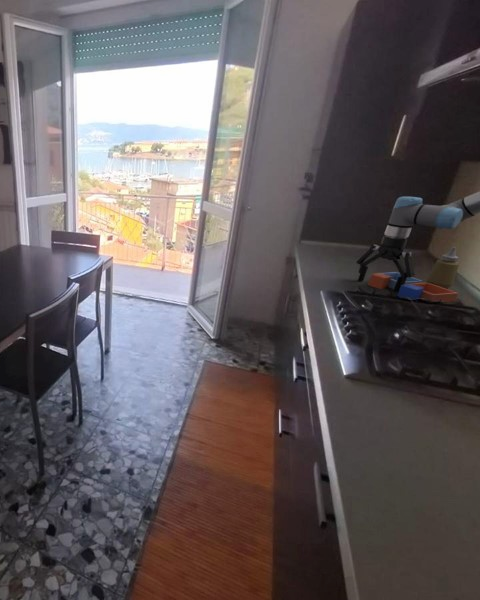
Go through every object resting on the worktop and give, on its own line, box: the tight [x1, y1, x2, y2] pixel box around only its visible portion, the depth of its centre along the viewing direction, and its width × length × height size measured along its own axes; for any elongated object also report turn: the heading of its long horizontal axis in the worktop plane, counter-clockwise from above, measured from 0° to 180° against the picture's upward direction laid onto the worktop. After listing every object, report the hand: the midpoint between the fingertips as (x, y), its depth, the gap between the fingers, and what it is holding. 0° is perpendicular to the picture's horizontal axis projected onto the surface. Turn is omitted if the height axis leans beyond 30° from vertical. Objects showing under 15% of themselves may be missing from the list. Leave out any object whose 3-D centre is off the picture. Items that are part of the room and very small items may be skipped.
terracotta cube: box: [367, 272, 392, 290], centre depth 150 cm, size 5×5×5 cm
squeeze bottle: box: [426, 246, 460, 290], centre depth 144 cm, size 8×8×18 cm
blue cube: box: [397, 284, 424, 299], centre depth 138 cm, size 5×5×5 cm
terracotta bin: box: [404, 282, 459, 303], centre depth 140 cm, size 11×11×4 cm
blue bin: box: [380, 271, 424, 291], centre depth 152 cm, size 11×11×4 cm
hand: (377, 285), depth 151 cm, fingers open, 13 cm apart
